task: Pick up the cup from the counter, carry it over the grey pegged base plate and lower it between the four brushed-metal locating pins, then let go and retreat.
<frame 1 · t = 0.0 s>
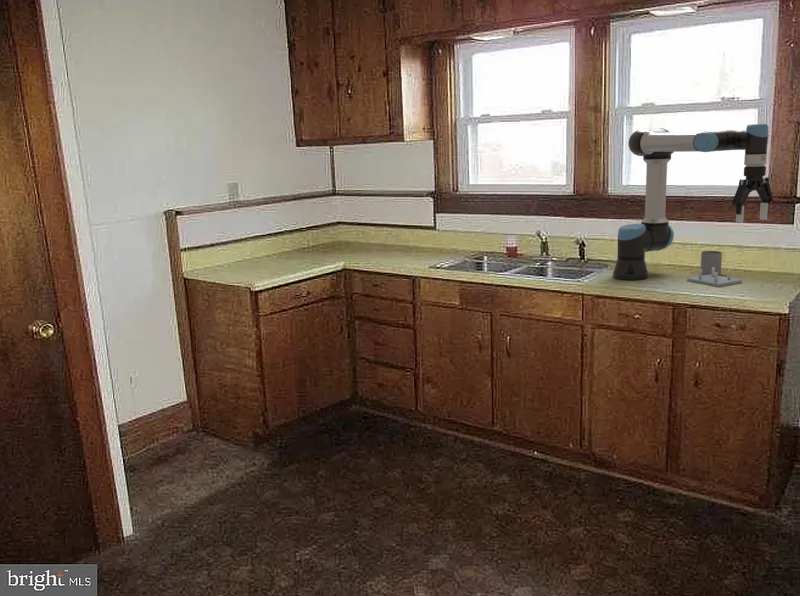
hand: (751, 221, 275), 28 cm above the worktop, fingers open, 13 cm apart
cup: (710, 274, 317), on the worktop
grey pegged base plate: (714, 281, 301), on the worktop
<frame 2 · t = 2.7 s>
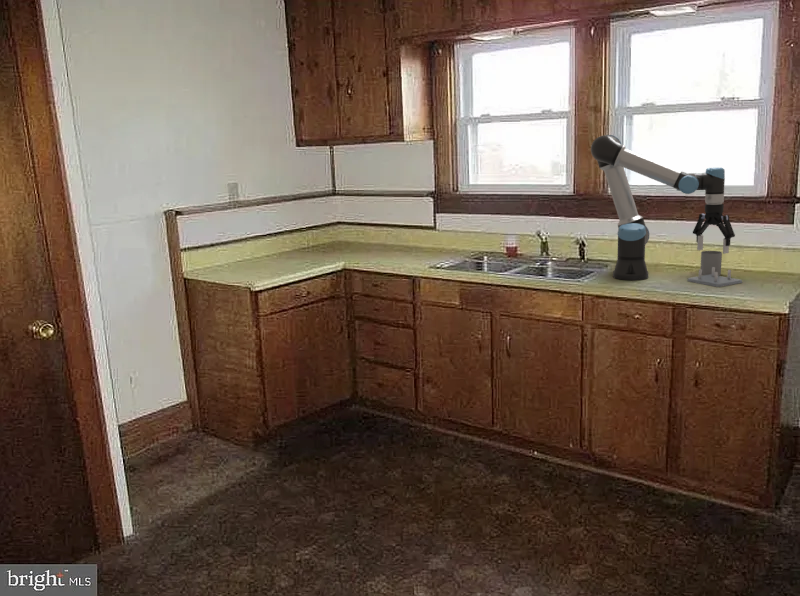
hand: (712, 251, 314), 10 cm above the worktop, fingers open, 13 cm apart
nothing on the worktop moved.
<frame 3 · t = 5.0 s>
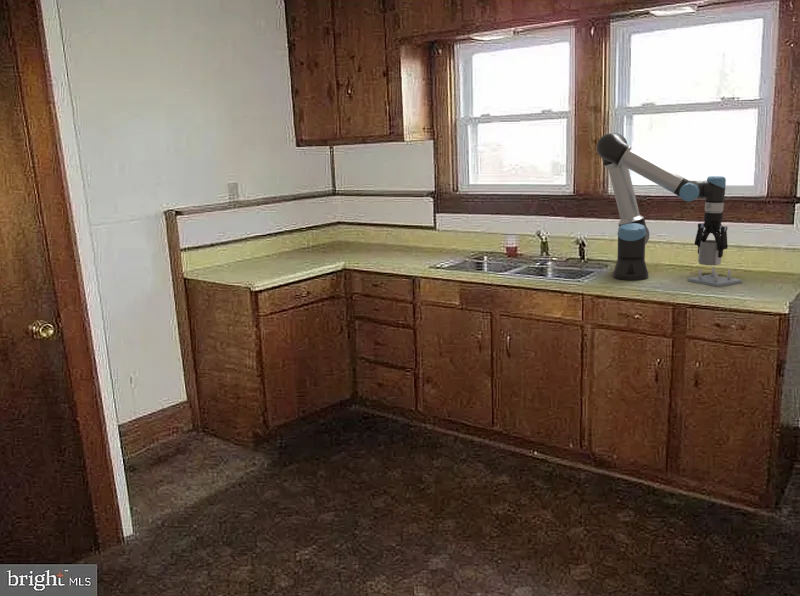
hand: (709, 262, 316), 5 cm above the worktop, fingers closed on cup, 8 cm apart
cup: (708, 264, 316), point 5 cm above the worktop, touching gripper
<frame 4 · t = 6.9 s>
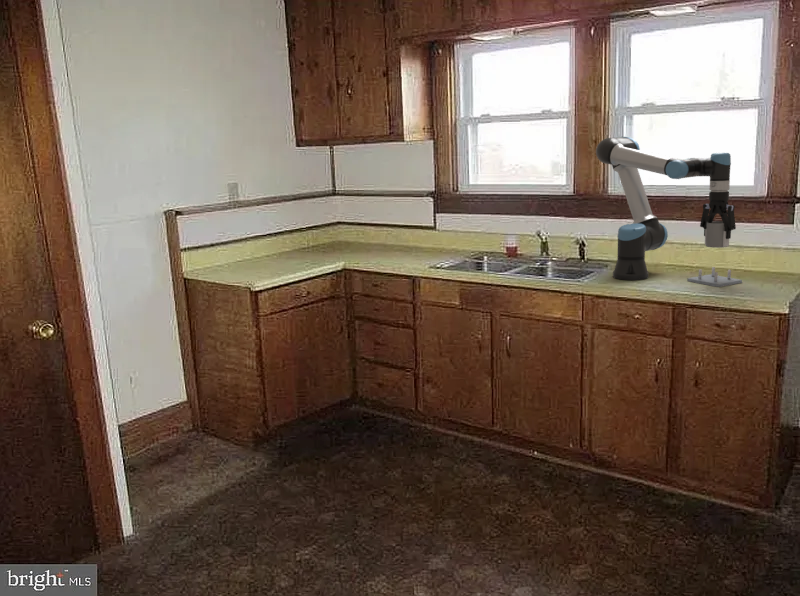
hand: (716, 245, 297), 16 cm above the worktop, fingers closed on cup, 8 cm apart
cup: (716, 246, 298), point 15 cm above the worktop, touching gripper
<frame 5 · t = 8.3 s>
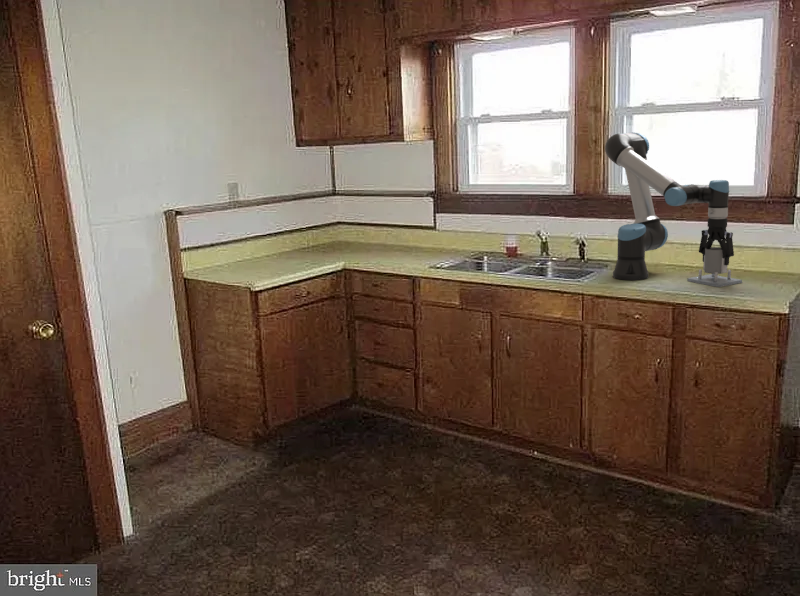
hand: (715, 271, 300), 5 cm above the worktop, fingers closed on cup, 8 cm apart
cup: (715, 272, 300), point 4 cm above the worktop, touching gripper
when the fingers open (3 cm above the worktop, at t = 9.1 s): cup drops 1 cm, resting on grey pegged base plate.
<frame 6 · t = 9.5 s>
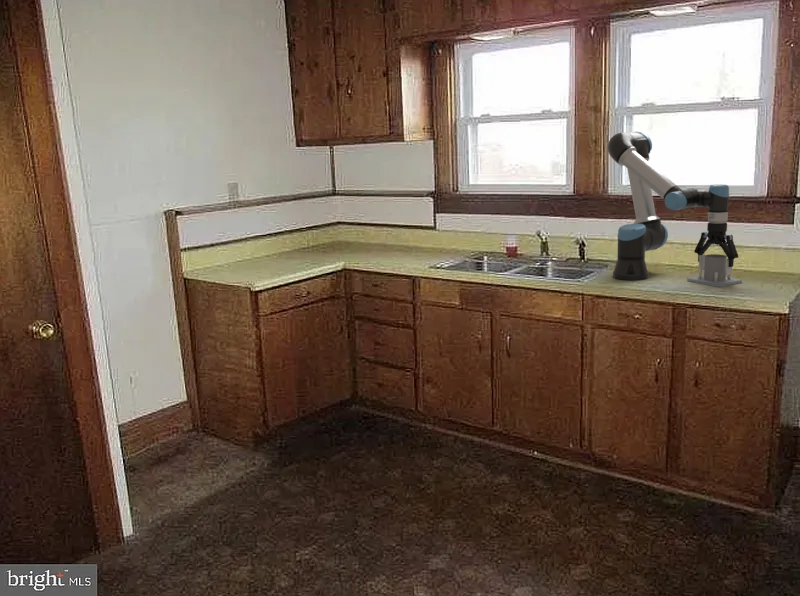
hand: (714, 272, 300), 4 cm above the worktop, fingers open, 13 cm apart
cup: (714, 279, 301), point 1 cm above the worktop, touching grey pegged base plate
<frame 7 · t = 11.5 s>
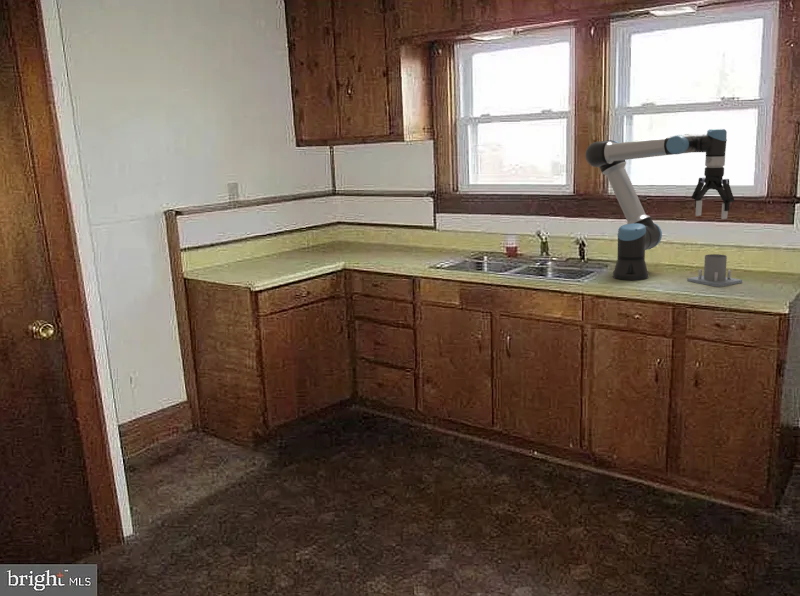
hand: (710, 217, 302), 27 cm above the worktop, fingers open, 13 cm apart
nothing on the worktop moved.
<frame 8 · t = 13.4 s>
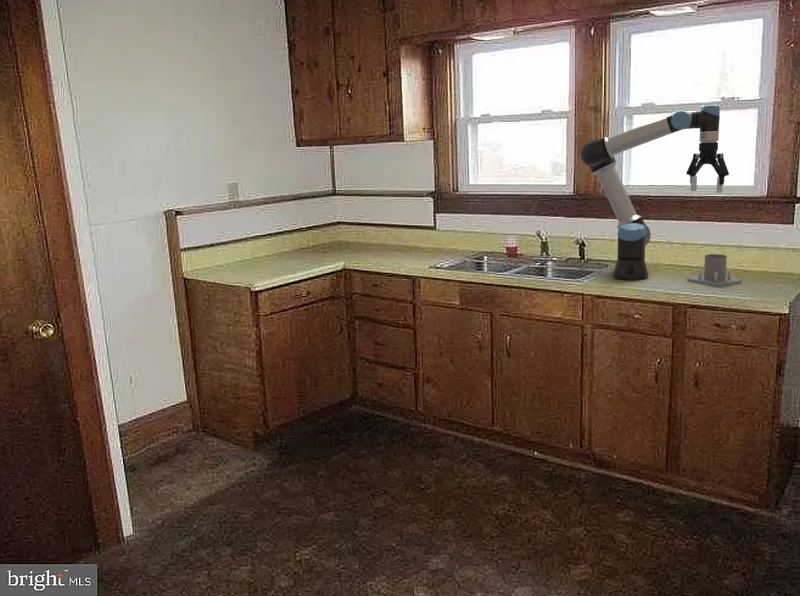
hand: (706, 191, 309), 37 cm above the worktop, fingers open, 13 cm apart
nothing on the worktop moved.
at the end: cup 0.1 cm from the grey pegged base plate (horizontally); cup point 1.0 cm above the worktop; cup tilted 0° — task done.
